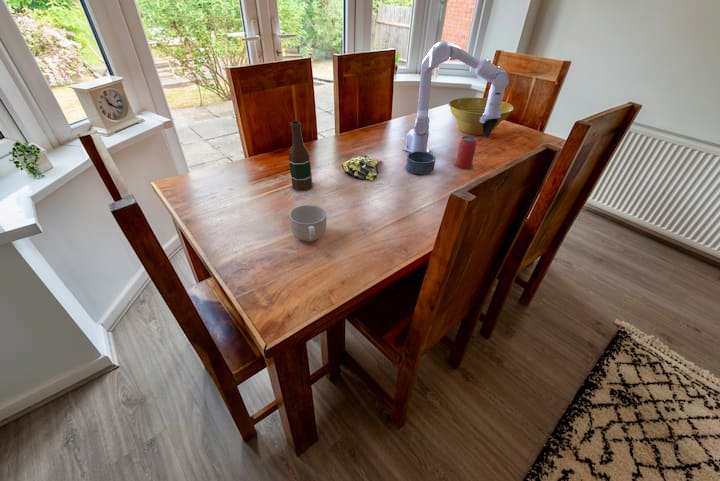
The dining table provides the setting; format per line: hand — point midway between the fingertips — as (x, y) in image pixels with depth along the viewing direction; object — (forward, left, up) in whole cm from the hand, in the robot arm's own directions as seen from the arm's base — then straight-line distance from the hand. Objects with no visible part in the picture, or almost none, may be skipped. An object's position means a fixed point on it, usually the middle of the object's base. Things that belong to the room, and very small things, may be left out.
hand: (485, 136), depth 140 cm
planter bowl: (-19, +28, -9) cm, 35 cm away
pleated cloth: (-27, -47, -9) cm, 55 cm away
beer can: (0, -15, -9) cm, 18 cm away
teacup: (-5, -93, -9) cm, 94 cm away
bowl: (-11, -31, -9) cm, 34 cm away
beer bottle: (-33, -75, -9) cm, 82 cm away
